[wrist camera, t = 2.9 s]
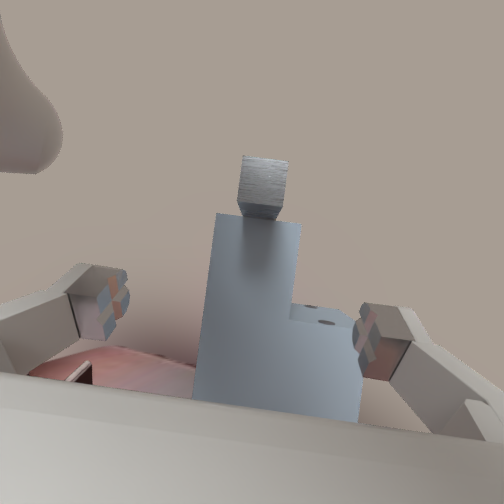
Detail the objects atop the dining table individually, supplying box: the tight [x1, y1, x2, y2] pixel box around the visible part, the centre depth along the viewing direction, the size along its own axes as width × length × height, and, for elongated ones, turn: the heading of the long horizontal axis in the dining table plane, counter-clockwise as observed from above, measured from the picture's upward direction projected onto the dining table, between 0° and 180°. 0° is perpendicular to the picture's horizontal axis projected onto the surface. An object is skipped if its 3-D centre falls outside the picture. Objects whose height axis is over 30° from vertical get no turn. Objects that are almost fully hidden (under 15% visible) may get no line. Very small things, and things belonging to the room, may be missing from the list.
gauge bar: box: [237, 156, 288, 221], centre depth 29 cm, size 4×20×4 cm, turn 178°
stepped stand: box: [192, 213, 363, 423], centre depth 32 cm, size 16×10×26 cm, turn 88°
